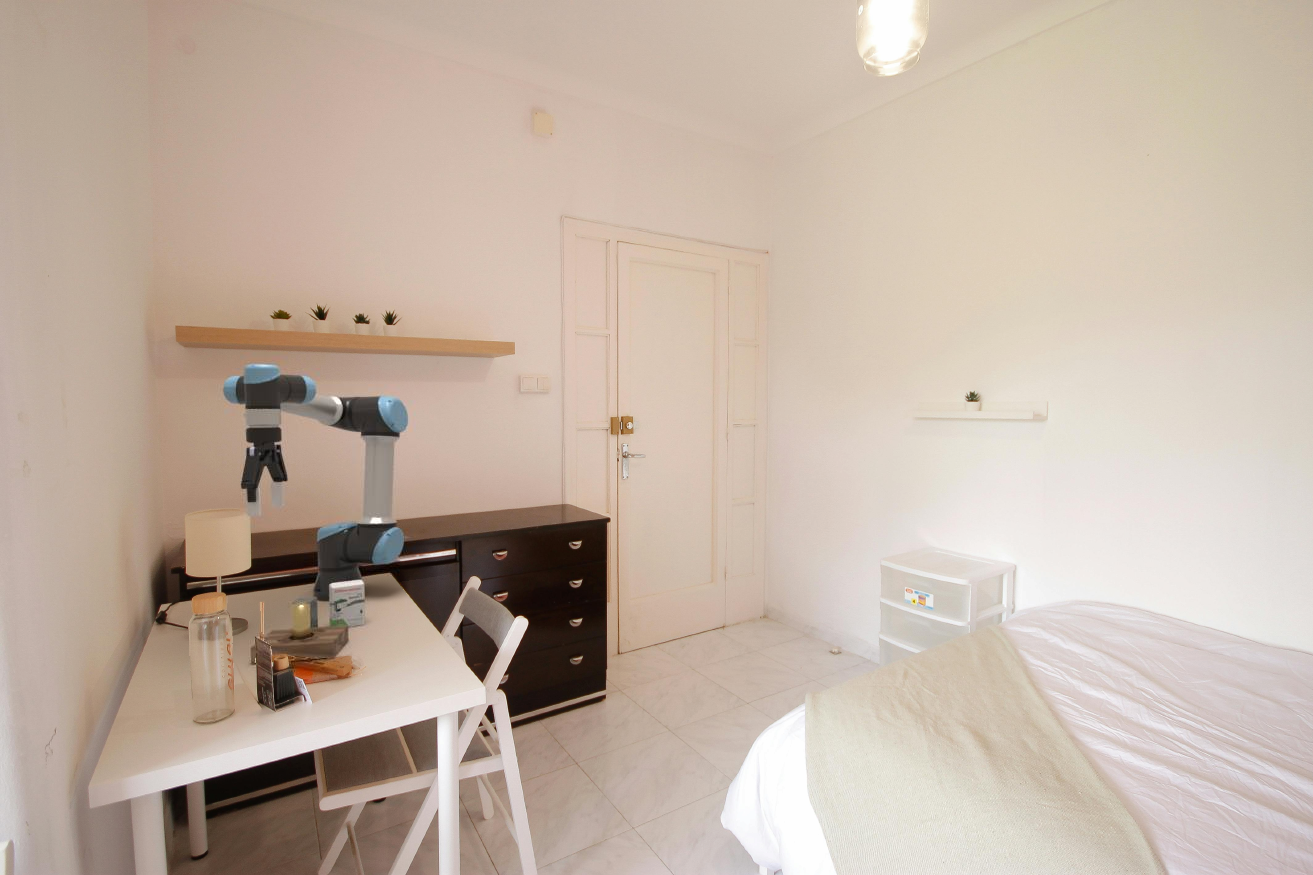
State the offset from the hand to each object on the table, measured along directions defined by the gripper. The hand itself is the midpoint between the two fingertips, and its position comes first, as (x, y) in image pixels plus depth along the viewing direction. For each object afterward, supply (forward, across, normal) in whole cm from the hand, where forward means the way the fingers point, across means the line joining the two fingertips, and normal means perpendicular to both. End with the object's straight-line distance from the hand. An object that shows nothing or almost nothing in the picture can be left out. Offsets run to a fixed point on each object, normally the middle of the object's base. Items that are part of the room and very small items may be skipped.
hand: (266, 511), depth 156 cm
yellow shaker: (+35, +5, +9) cm, 36 cm away
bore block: (+35, +5, +9) cm, 36 cm away
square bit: (+35, -6, +6) cm, 36 cm away
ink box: (+35, -14, +14) cm, 40 cm away
